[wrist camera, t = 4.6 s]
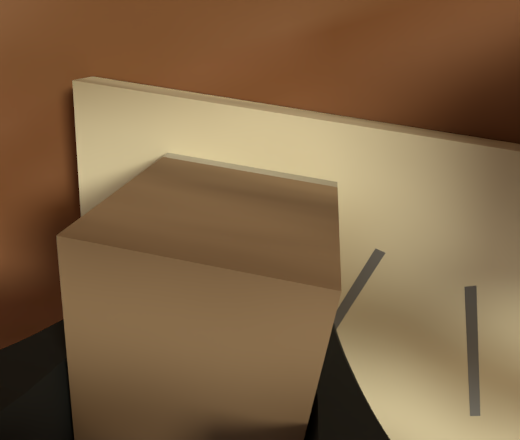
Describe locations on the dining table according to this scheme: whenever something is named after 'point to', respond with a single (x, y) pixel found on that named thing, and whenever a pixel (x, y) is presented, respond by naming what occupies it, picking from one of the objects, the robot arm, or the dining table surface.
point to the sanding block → (200, 303)
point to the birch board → (364, 239)
